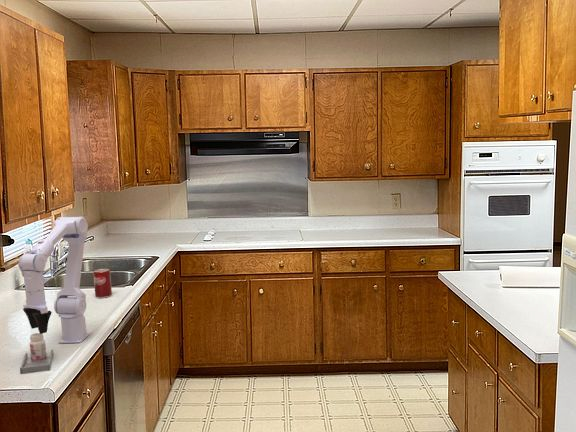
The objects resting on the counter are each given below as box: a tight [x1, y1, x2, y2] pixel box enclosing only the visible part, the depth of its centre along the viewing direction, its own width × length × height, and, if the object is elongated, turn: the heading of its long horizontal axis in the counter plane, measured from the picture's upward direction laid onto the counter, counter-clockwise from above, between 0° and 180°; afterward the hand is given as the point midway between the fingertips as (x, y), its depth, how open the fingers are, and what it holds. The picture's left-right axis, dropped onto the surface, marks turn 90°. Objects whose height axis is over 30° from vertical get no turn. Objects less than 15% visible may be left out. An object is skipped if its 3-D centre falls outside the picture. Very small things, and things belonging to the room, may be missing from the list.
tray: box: [19, 349, 55, 375], centre depth 211 cm, size 15×9×2 cm, turn 15°
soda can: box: [92, 268, 113, 299], centre depth 295 cm, size 7×7×12 cm
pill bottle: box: [29, 332, 47, 362], centre depth 215 cm, size 5×5×8 cm
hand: (39, 330), depth 216 cm, fingers open, 7 cm apart
